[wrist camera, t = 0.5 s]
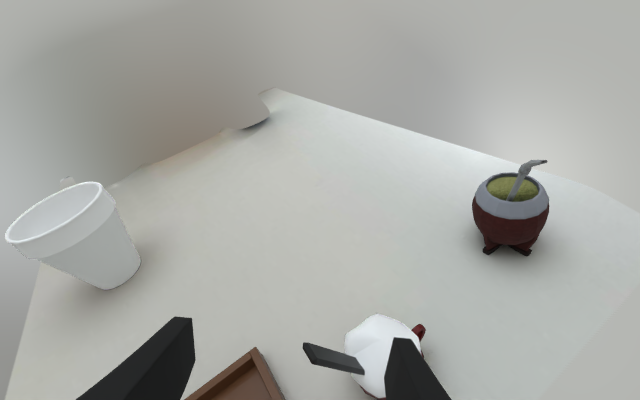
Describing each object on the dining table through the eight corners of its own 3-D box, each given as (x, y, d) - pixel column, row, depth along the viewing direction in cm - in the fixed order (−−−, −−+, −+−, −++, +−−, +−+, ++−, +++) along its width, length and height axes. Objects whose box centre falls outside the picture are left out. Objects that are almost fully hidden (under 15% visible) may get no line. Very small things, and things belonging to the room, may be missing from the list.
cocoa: (419, 330, 31) (412, 251, 24) (451, 398, 26) (454, 325, 19) (329, 357, 31) (293, 287, 24) (343, 430, 26) (304, 370, 19)
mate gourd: (496, 211, 40) (511, 101, 31) (561, 244, 34) (603, 121, 25) (454, 240, 38) (457, 133, 29) (516, 281, 32) (544, 162, 23)
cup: (89, 263, 54) (24, 204, 45) (158, 232, 56) (108, 170, 47) (70, 320, 44) (-16, 258, 36) (155, 281, 46) (92, 214, 38)
